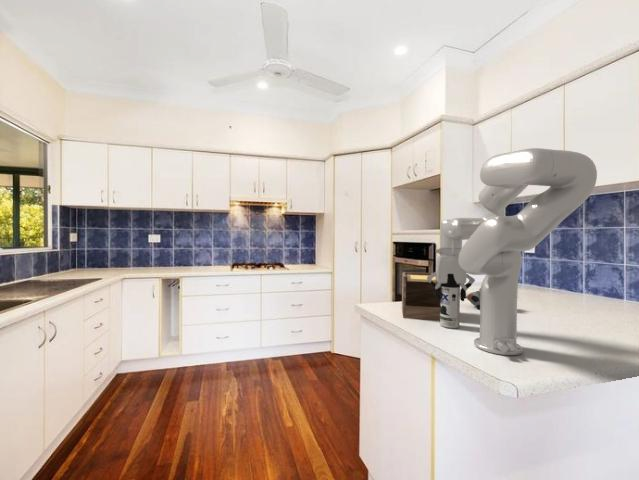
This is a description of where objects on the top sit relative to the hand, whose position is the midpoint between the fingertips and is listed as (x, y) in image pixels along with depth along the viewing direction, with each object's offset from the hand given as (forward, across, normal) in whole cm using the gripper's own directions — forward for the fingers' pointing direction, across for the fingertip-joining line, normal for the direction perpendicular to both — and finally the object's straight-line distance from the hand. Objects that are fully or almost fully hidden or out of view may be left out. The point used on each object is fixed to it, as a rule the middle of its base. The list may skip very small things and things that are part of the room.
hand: (450, 299), depth 112 cm
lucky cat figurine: (+10, +22, +37) cm, 45 cm away
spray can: (+10, 0, 0) cm, 10 cm away
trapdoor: (-5, -8, +16) cm, 19 cm away
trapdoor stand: (+10, -8, +16) cm, 21 cm away
